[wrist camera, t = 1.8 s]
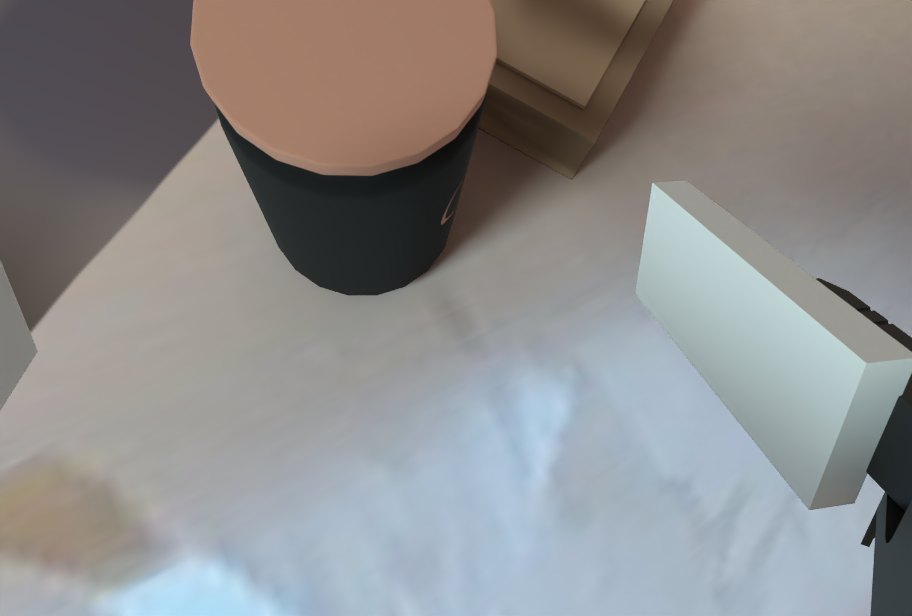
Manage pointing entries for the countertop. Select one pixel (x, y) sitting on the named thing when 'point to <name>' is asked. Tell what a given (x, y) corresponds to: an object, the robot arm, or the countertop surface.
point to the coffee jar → (350, 124)
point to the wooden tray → (563, 72)
